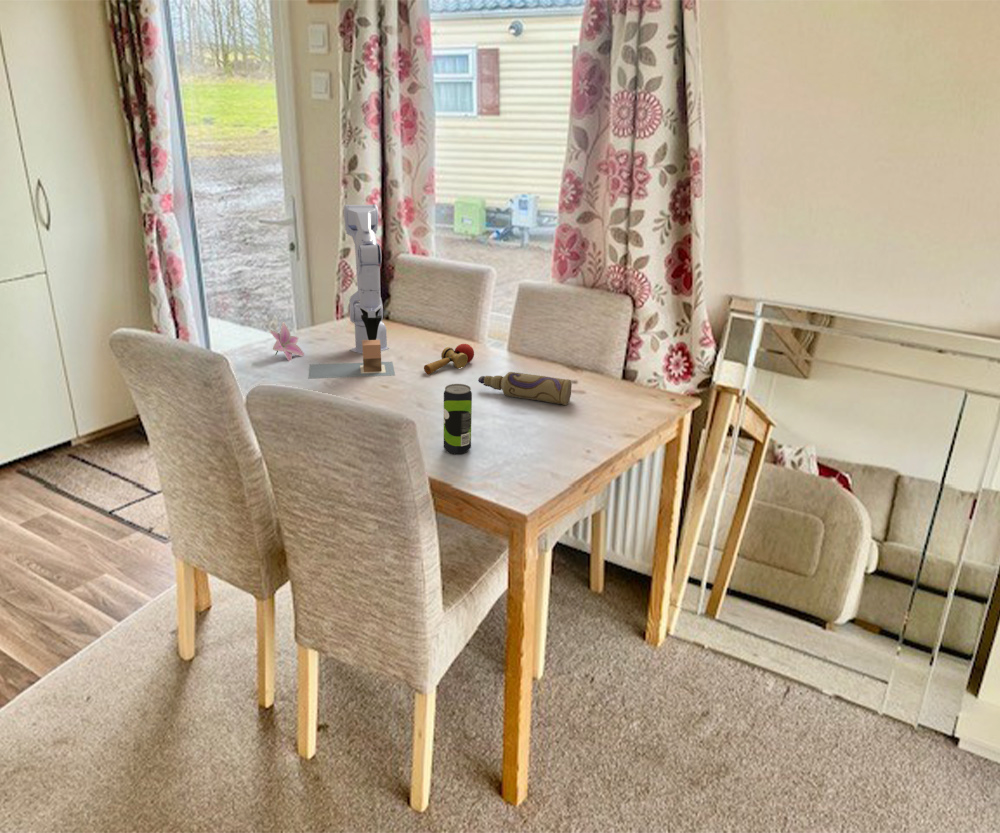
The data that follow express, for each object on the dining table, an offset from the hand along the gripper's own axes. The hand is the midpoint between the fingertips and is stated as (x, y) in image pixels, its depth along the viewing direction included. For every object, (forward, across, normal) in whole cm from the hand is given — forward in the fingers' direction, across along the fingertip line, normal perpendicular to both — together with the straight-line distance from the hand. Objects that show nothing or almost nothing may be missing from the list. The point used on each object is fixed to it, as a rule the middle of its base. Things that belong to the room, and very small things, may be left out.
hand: (371, 335), depth 222 cm
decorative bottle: (+11, +25, +40) cm, 49 cm away
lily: (+11, -14, -25) cm, 30 cm away
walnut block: (+10, 0, 0) cm, 10 cm away
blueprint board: (+10, 0, -6) cm, 12 cm away
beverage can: (+11, +56, +16) cm, 60 cm away
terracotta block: (+6, 0, 0) cm, 6 cm away
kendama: (+11, 0, +22) cm, 25 cm away
